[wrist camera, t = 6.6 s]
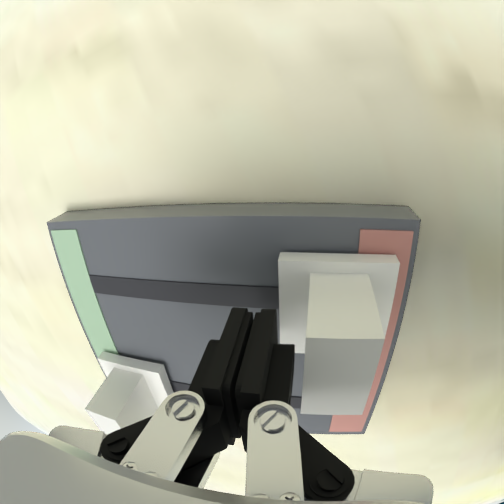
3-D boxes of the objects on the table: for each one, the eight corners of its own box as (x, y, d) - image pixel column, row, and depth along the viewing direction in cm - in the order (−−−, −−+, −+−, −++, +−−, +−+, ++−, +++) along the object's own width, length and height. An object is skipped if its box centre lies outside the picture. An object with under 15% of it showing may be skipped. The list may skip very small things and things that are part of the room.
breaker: (163, 364, 18) (130, 421, 14) (180, 409, 20) (157, 461, 16) (103, 351, 19) (67, 397, 15) (125, 395, 21) (98, 439, 17)
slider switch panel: (408, 206, 13) (421, 220, 11) (363, 413, 20) (364, 434, 18) (66, 211, 17) (45, 223, 15) (128, 384, 24) (117, 400, 22)
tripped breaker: (395, 254, 12) (428, 324, 8) (378, 343, 14) (390, 420, 10) (280, 252, 13) (261, 322, 9) (282, 341, 15) (267, 418, 11)
